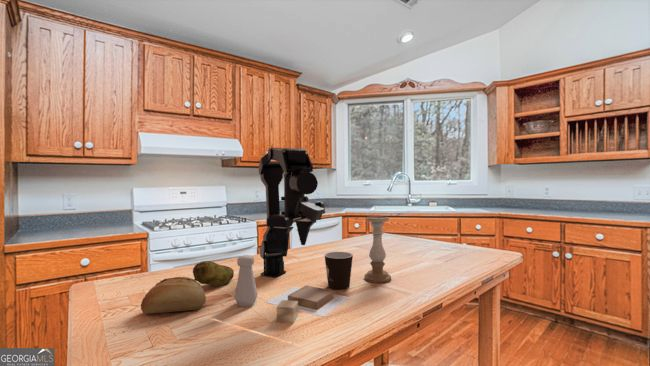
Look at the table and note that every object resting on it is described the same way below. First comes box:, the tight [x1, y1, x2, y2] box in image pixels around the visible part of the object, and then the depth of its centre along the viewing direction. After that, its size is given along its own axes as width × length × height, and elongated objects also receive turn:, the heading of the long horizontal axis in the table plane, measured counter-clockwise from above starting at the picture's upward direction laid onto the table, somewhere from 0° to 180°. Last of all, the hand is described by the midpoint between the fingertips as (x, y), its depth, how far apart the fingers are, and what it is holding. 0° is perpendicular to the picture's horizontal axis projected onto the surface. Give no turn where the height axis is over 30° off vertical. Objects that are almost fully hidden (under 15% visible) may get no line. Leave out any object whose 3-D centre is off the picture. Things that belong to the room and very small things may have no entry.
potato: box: [192, 260, 235, 287], centre depth 99 cm, size 8×13×8 cm, turn 121°
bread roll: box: [140, 276, 207, 315], centre depth 80 cm, size 10×15×8 cm, turn 110°
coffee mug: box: [324, 251, 353, 291], centre depth 97 cm, size 12×9×10 cm
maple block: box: [276, 300, 299, 324], centre depth 73 cm, size 4×4×4 cm
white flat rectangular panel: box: [264, 286, 350, 317], centre depth 85 cm, size 18×14×1 cm
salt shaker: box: [234, 254, 258, 308], centre depth 83 cm, size 6×6×13 cm
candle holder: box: [363, 215, 392, 284], centre depth 103 cm, size 9×9×20 cm
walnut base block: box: [288, 285, 335, 310], centre depth 84 cm, size 9×9×2 cm
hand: (294, 248), depth 88 cm, fingers open, 9 cm apart
